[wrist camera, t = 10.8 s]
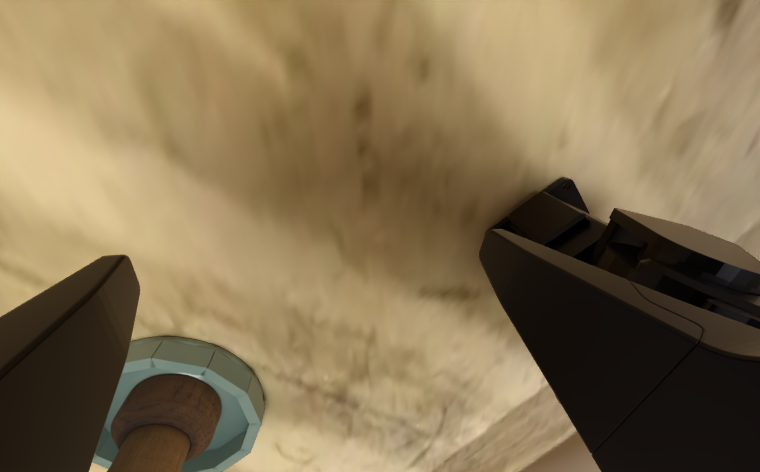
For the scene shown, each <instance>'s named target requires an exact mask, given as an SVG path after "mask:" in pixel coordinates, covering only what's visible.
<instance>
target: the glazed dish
mask: <svg viewBox="0 0 760 472" xmlns="http://www.w3.org/2000/svg"><path fill="white" fill-rule="evenodd" d="M165 374H175V375H184V376H189V377H193V378H195V379H198V380H200V381H202V382H204V383H206V384H208V385H209V386H210V387H211V388H213V389H214V391H215V392H216V393H217V394H218V396H219V398H220V400H221V404H222V410H221V415H220V419H219V421H218V424H217V427H216V430H215V433H214V436H213V439H212V441H211V443H210V445H209V446H208V448H207V449H206V450H205V451H204V452H203V453H201V454H200V455H198V456H196V457H195V458H192V459H190V460H188V461H186V462H184V463H183V466H182V468H181V471H180V472H223V471H224V470H226V469H227V468H229V467H230V466H232V465H233V464H235V463H236V462H238V461H239V460H241V459H242V458H243V457H245V456H246V455H248V454H249V453H250V452H251V450H252V448H253V445H254V442H255V440H256V437H257V434H258V431H259V429H260V426H261V423H262V418H263V413H264V409H265V403H264V396H263V390H262V387H261V384H260V382H259V380H258V378H257V377H256V375H255V374H254V373H253V371H252V370H251V369H250V368H249V367H248V366H247V365H246V364H245V363H244V362H243V361H242V360H240V359H239V358H238V357H236V356H235V355H233V354H231V353H230V352H228V351H226V350H224V349H222V348H220V347H217V346H215V345H212V344H209V343H206V342H203V341H199V340H195V339H189V338H182V337H151V338H144V339H139V340H135V341H131V342H130V347H129V351H128V355H127V359H126V362H125V366H124V369H123V372H122V375H121V378H120V381H119V383H118V386H117V389H116V392H115V395H114V398H113V401H112V404H111V407H110V410H109V413H108V416H107V419H106V422H105V425H104V428H103V431H102V434H101V437H100V440H99V443H98V446H97V449H96V452H95V455H94V458H93V460H92V462H93V463H96V464H98V465H100V466H103V467H105V468H108V469H109V468H110V466H111V464H112V462H113V460H114V459H115V457H116V455H117V453H118V451H119V450H118V448H117V446H116V444H115V443H114V441H113V439H112V436H111V423H112V421H113V419H114V417H115V415H116V413H117V412H118V410H119V409H120V407H121V405H122V404H123V402H124V401H125V399H126V397H127V396H128V394H129V393H130V392H131V390H132V389H133V388H134V387H135V386H136V385H137V384H139V383H140V382H142V381H144V380H146V379H148V378H151V377H154V376H158V375H165Z"/></svg>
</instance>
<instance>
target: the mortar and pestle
mask: <svg viewBox="0 0 760 472" xmlns="http://www.w3.org/2000/svg"><path fill="white" fill-rule="evenodd" d="M221 410H222V404H221V400H220V398H219V396H218V394H217V393H216V392H215V391H214V389H213V388H211V387H210V386H209V385H208V384H206V383H204V382H202V381H200V380H198V379H195V378H193V377H189V376H184V375H175V374H165V375H158V376H154V377H151V378H148V379H146V380H144V381H142V382H140V383H139V384H137V385H136V386H135V387H134V388H133V389H132V390H131V392H130V393H129V394H128V396H127V397H126V399H125V401H124V402H123V404H122V405H121V407H120V409H119V410H118V412H117V413H116V415H115V417H114V419H113V421H112V423H111V436H112V439H113V441H114V443H115V444H116V446H117V448H118V450H119V451H118V453H117V455H116V457H115V459H114V460H113V462H112V464H111V466H110V468H109V469H108V471H107V472H180V471H181V468H182V466H183V463H184V462H186V461H188V460H190V459H192V458H195V457H196V456H198V455H200V454H201V453H203V452H204V451H205V450H206V449H207V448H208V446H209V445H210V443H211V441H212V439H213V436H214V433H215V430H216V427H217V424H218V421H219V419H220V415H221Z"/></svg>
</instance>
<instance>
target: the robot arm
mask: <svg viewBox="0 0 760 472" xmlns="http://www.w3.org/2000/svg"><path fill="white" fill-rule="evenodd" d="M566 183H567V185H566V187H565V188H563V186H564V184H566ZM609 218H610V219H611V220H610V222H609V223H608V224H607V223H605V222H603V221H602V220H600V219H598V218H596V217H594V216H592V215H590V213H589V211H588V209H587V207H586V205H585V203H584V201H583V199H582V197H581V195H580V193H579V191H578V190H577V188H576V186H575V184H574V182H573V181H572V180H571V179H568V178H566V177H565V178H561V179H560V180H558V181H557V182H555V183H554V184H553V185H551V186H550V187H548V188H547V189H546V190H544V191H543V192H540V193H539V194H537V195H536V196H534V197H533V198H532V199H530V200H529V201H527V202H526V203H525V204H523V205H522V206H520V207H519V208H518V209H516V210H515V211H513V212H512V213H511V214H510V215H509V216H508V217H506V218H505V219H504V220H502V221H501V222H500V223H498V224H497V225H495V226H494V227H493V228H491V229H490V230H488V231H487V232H486V234H485V237H484V240H483V243H482V246H481V249H480V252H479V258H480V261H481V264H482V266H483V268H484V270H485V272H486V274H487V276H488V278H489V281H490V283H491V285H492V287H493V289H494V291H495V293H496V295H497V297H498V299H499V301H500V303H501V305H502V307H503V308H504V310H505V312H506V313H507V315H508V317H509V318H510V320H511V322H512V323H513V325H514V327H515V328H516V330H517V332H518V333H519V335H520V337H521V338H522V340H523V342H524V343H525V345H526V347H527V348H528V350H529V352H530V353H531V355H532V357H533V358H534V360H535V362H536V363H537V365H538V367H539V368H540V370H541V372H542V373H543V375H544V377H545V378H546V380H547V382H548V383H549V385H550V387H551V388H552V390H553V392H554V393H555V396H556V398H557V400H558V402H559V403H560V404H561V405H562V407H563V408H564V410H565V412H566V413H567V415H568V417H569V418H570V420H571V422H572V423H573V425H574V427H575V428H576V430H577V432H578V433H579V435H580V436H581V438H582V440H583V441H584V443H585V445H586V446H587V448H588V450H589V451H590V453H592V457H593V459H594V460H595V462H596V464H597V465H598V467H599V469H600V470H601V472H760V261H758V260H757V259H756V258H755V257H753V256H752V255H751V254H749V253H748V252H747V251H745V250H744V249H743V248H741V247H740V246H739V245H736V244H734V243H732V242H729V241H726V240H724V239H721V238H718V237H716V236H713V235H710V234H708V233H705V232H702V231H700V230H697V229H694V228H692V227H689V226H686V225H682V224H678V223H674V222H670V221H666V220H662V219H658V218H654V217H650V216H646V215H642V214H638V213H634V212H630V211H626V210H622V209H618V208H614V210H613V212H612V213H611V215H610V217H609ZM139 295H140V286H139V282H138V279H137V276H136V274H135V271H134V268H133V265H132V263H131V260H130V259H129V257H128V256H126V255H109V256H102V257H101V258H99V259H97V260H95V261H94V262H92V263H90V264H89V265H87V266H85V267H84V268H82V269H80V270H79V271H77V272H75V273H74V274H72V275H70V276H69V277H67V278H65V279H64V280H62V281H60V282H59V283H57V284H55V285H53V286H52V287H50V288H48V289H47V290H45V291H43V292H42V293H40V294H38V295H37V296H35V297H33V298H32V299H30V300H28V301H27V302H25V303H23V304H22V305H20V306H18V307H17V308H15V309H13V310H11V311H10V312H8V313H6V314H5V315H3V316H1V317H0V472H89V469H90V466H91V463H92V460H93V458H94V455H95V452H96V449H97V446H98V443H99V440H100V437H101V434H102V431H103V428H104V425H105V422H106V419H107V416H108V413H109V410H110V407H111V404H112V401H113V398H114V395H115V392H116V389H117V386H118V383H119V381H120V378H121V375H122V372H123V369H124V366H125V362H126V359H127V355H128V351H129V347H130V342H131V336H132V331H133V326H134V321H135V316H136V311H137V306H138V300H139Z"/></svg>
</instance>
